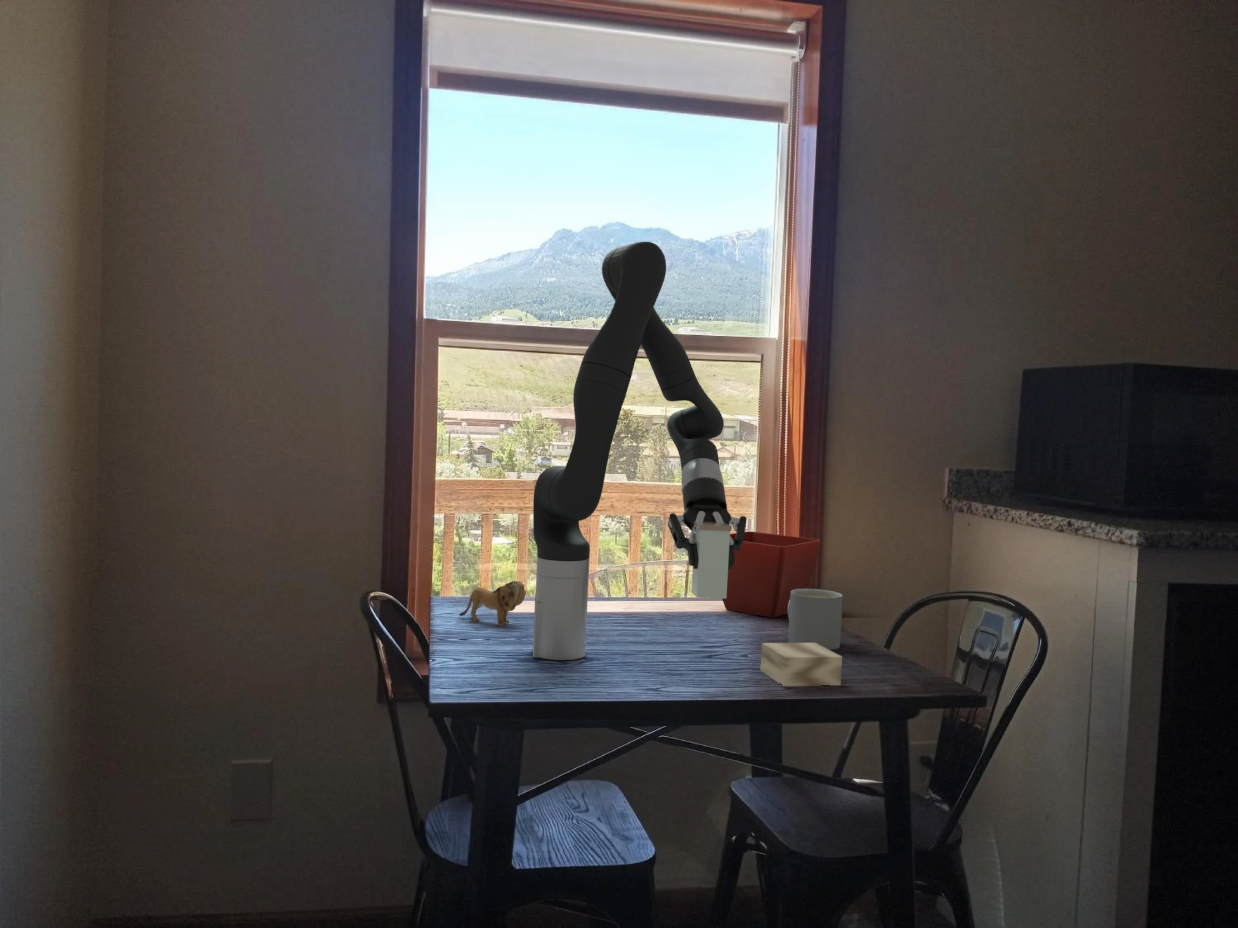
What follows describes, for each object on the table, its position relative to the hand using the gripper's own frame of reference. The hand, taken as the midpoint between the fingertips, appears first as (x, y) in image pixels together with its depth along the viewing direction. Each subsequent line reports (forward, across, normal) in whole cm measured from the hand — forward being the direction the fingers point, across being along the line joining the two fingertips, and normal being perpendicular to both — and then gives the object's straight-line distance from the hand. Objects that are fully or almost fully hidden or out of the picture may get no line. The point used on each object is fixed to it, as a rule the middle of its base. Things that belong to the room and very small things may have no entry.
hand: (712, 566), depth 158 cm
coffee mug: (-5, +26, +31) cm, 41 cm away
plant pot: (-27, +24, +53) cm, 64 cm away
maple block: (+14, +16, +12) cm, 24 cm away
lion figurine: (-13, -37, +39) cm, 56 cm away
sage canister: (+2, 0, +5) cm, 6 cm away
